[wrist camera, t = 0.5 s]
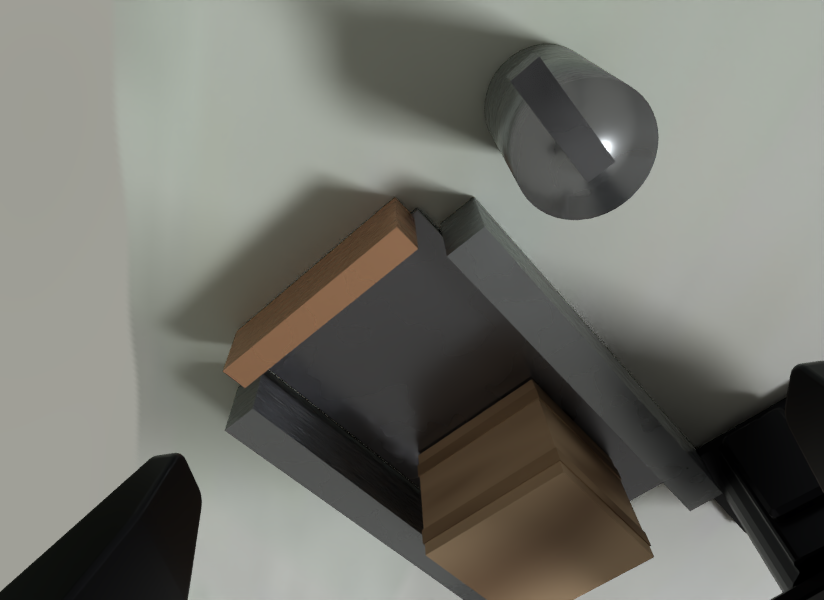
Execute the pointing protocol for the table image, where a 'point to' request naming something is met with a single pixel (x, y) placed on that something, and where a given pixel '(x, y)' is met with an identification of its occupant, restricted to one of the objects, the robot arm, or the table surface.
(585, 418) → the bay
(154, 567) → the robot arm
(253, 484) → the table surface
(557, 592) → the brown block
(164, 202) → the table surface
